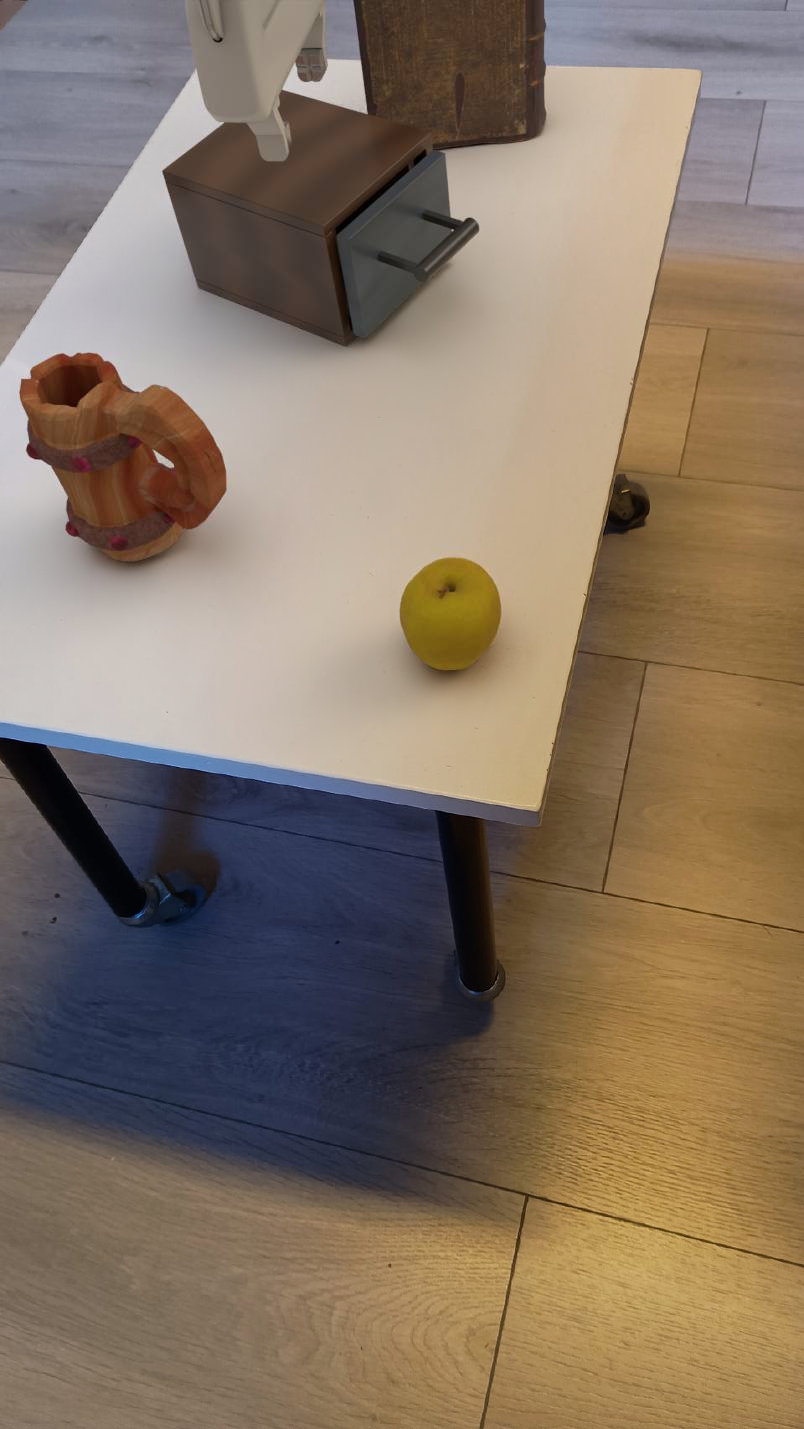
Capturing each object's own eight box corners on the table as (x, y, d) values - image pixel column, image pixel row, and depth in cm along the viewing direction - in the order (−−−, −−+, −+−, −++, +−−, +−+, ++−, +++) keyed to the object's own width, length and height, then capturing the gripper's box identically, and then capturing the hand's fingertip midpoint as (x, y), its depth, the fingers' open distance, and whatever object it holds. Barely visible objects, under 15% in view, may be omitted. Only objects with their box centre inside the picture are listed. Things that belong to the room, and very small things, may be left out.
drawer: (502, 270, 93) (497, 168, 85) (413, 358, 88) (400, 258, 80) (313, 206, 101) (294, 108, 94) (223, 283, 96) (195, 186, 89)
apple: (429, 706, 71) (416, 630, 64) (392, 635, 74) (376, 555, 67) (520, 670, 71) (517, 590, 65) (480, 600, 75) (472, 518, 68)
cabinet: (443, 254, 96) (431, 131, 87) (346, 346, 91) (323, 226, 82) (295, 204, 103) (271, 85, 94) (197, 287, 98) (161, 170, 89)
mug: (55, 554, 82) (-34, 393, 69) (119, 479, 85) (45, 314, 73) (219, 614, 77) (154, 453, 64) (279, 532, 80) (229, 364, 68)
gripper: (250, -47, 56) (303, 208, 67) (343, -208, 67) (375, 35, 78) (134, -42, 57) (205, 207, 69) (244, -201, 68) (289, 37, 79)
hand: (296, 114), depth 73 cm, fingers open, 8 cm apart
